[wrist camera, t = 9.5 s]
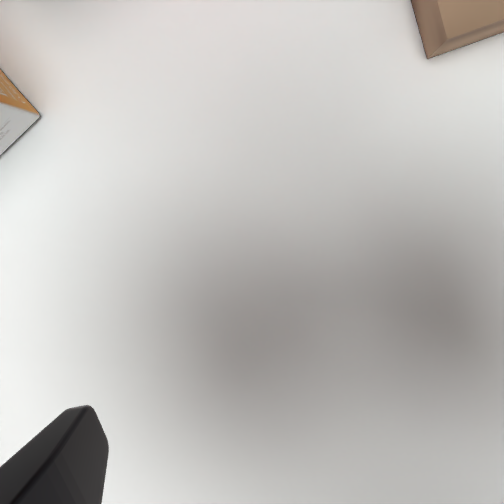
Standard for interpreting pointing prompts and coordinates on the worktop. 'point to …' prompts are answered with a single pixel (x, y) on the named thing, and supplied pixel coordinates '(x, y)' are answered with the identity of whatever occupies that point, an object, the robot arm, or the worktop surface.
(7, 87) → the small box
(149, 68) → the worktop surface
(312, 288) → the worktop surface
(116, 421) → the worktop surface
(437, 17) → the walnut slab
